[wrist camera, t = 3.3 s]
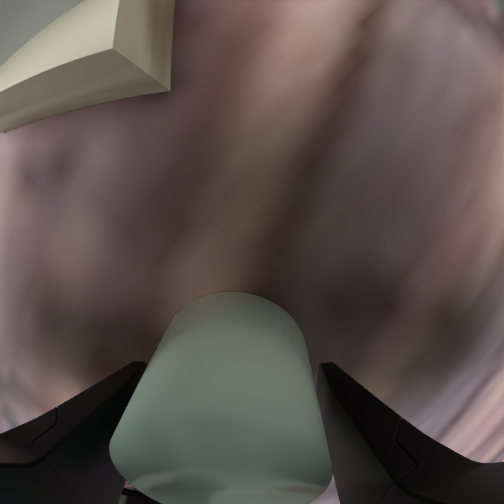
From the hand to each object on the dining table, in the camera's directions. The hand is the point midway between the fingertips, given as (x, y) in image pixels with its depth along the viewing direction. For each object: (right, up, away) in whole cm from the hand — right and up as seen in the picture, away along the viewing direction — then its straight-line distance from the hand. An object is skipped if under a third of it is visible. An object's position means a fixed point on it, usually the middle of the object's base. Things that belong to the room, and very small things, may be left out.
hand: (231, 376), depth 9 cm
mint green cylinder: (0, 0, +1) cm, 1 cm away
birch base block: (-5, +12, -2) cm, 13 cm away
